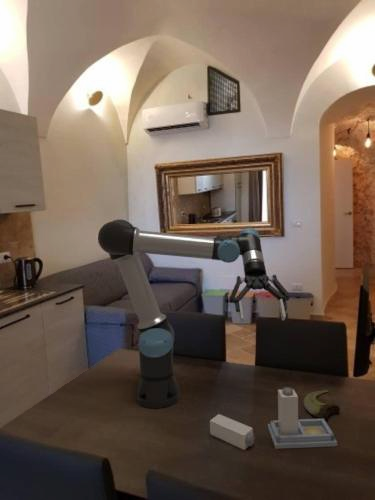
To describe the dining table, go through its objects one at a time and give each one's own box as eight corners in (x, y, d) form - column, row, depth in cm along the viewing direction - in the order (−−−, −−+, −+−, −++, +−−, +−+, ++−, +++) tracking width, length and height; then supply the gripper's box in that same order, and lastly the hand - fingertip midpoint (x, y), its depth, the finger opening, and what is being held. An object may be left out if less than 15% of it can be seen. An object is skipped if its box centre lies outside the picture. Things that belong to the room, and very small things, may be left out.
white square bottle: (282, 437, 110) (281, 394, 108) (278, 428, 114) (277, 386, 113) (298, 436, 110) (297, 393, 108) (293, 427, 114) (293, 385, 113)
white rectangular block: (210, 434, 115) (209, 420, 115) (219, 427, 118) (218, 414, 118) (247, 452, 107) (247, 437, 106) (256, 444, 110) (255, 429, 109)
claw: (344, 423, 118) (344, 413, 118) (310, 423, 119) (309, 413, 119) (327, 393, 137) (327, 384, 137) (297, 393, 138) (297, 384, 138)
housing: (275, 448, 107) (275, 439, 107) (267, 427, 117) (267, 419, 117) (337, 446, 107) (337, 437, 107) (324, 425, 117) (324, 417, 117)
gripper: (287, 270, 142) (299, 323, 129) (218, 273, 142) (224, 326, 129) (290, 258, 136) (303, 312, 123) (219, 261, 136) (225, 315, 123)
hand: (263, 319), depth 126 cm, fingers open, 13 cm apart
